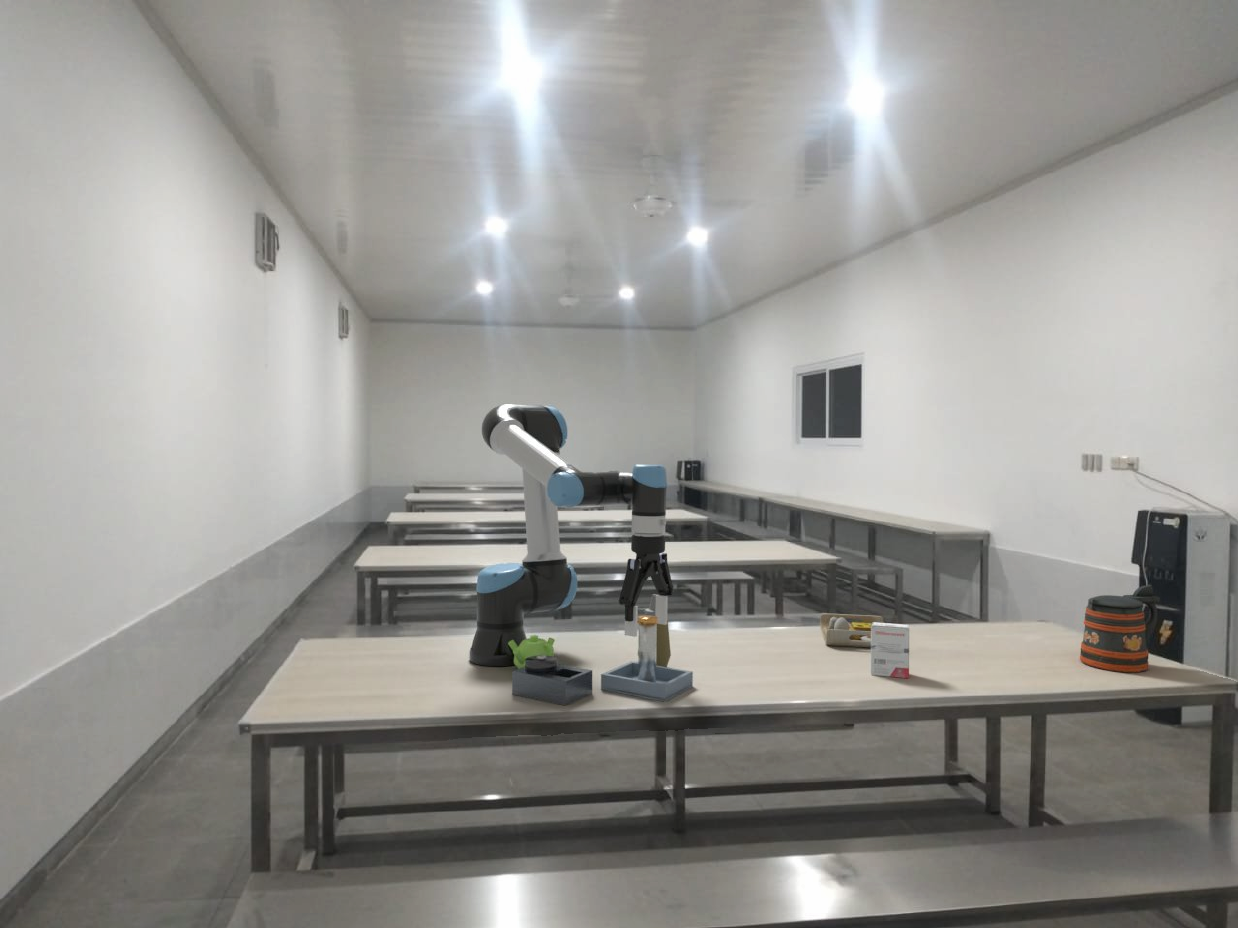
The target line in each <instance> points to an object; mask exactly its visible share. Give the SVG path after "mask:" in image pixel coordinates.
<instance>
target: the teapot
mask: <svg viewBox="0 0 1238 928" xmlns="http://www.w3.org/2000/svg"><path fill="white" fill-rule="evenodd" d="M555 641H556V640H555V639H554V638H553V637H548V639H547V640H546V639H544V638H539V635H536V634H532V635H529V638H527V639H525V640H523V641H522V642H521V643H520V645H519V646H517V644H516V643H515V642H514V640H511V641H510V642H508V644H509V646H510V647H511V649H512V650H513V653H514V655H515V656H514V664H515V665H514V666H515V667H516V668H517V669H520V668H522V667H525V659H526V658H528V657H531V656H537V655H547V656H553V657H555V655H554V654H555V649H554V643H555Z"/></svg>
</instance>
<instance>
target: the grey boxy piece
mask: <svg viewBox="0 0 1238 928" xmlns="http://www.w3.org/2000/svg"><path fill="white" fill-rule="evenodd" d="M511 676H512V677H511V681H512V682H511V684H512V685H511V686H512V687H511V689H512V690H511V691H512V692H511V695H513V696H514V695H515V696H519V697H523V698H528V699H534V700H536V701H542V702H547V703H550V704H557V705H562V706H568V705H570V704H572V703H574V702H577V701H579V700H581V699H582V698H585V697H588V696H589V695H592V694H593V669H588V668H582V667H576V666H571V665H565V664H561V663H560V664H559V663H558V657H556V656H554V657H553V656H547V655H537V656H531V657H528V658H526V659H525V667H522V668H520V669H518V668H517V669H514V670H512V672H511Z"/></svg>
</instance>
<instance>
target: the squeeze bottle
mask: <svg viewBox="0 0 1238 928" xmlns="http://www.w3.org/2000/svg"><path fill="white" fill-rule="evenodd" d="M656 595H658V593H657V594H656V593H654V594H652V595H651V598H650V603H649V608H645V609H644V616H655V607H656ZM671 656H672V653H671V643H670V630H669V620H668V619H667V625H663V624H657V641H656V665H657V666H663V667H668V664H669V661H670V659H671Z"/></svg>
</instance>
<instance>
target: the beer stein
mask: <svg viewBox="0 0 1238 928" xmlns="http://www.w3.org/2000/svg"><path fill="white" fill-rule="evenodd" d="M1087 601H1088V603H1087V606H1085V613H1084V619H1083V620H1084V621H1083V625H1084V628H1083V629H1084V630H1083V639H1082V641H1081V643H1080V644H1081V646H1080V655H1079V660H1080V662H1081V663H1083V665H1086V666H1088V667H1091V668H1095V669H1100V670H1103V671H1109V672H1118V673H1127V674H1128V673H1129V674H1131V673H1132V674H1135V673H1140V672H1144V671H1147V670H1149V655H1150V654H1149V650H1148V646H1149V645H1150V643H1151V641H1150V637H1151V635H1152V634H1153V632H1154V630H1155V627H1156V625H1157V621H1158V609H1157V606H1156V603H1160V602H1161V596H1156V595H1154V588H1153V585H1152V584H1146V585H1141V586H1139V587H1138V588H1137V589H1136V590H1135V591H1134V592H1133V593H1132V594H1124V595H1122V596H1121V595H1111V594H1109V595H1105V594H1103V595H1097V596H1093V597H1090V598H1089V599H1088V600H1087ZM1144 605H1146V607H1148V609H1149V613H1148V617H1147V619H1146V621H1145V611H1144V610H1143V606H1144Z"/></svg>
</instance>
